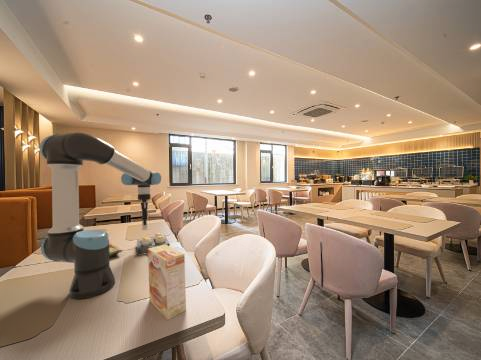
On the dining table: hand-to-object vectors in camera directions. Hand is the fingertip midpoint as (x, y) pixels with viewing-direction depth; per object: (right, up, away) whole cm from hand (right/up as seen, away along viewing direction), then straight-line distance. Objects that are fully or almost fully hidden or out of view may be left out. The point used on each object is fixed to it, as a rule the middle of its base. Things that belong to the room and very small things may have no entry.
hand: (144, 229), depth 132 cm
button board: (+6, -11, -1) cm, 13 cm away
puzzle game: (-18, -13, -12) cm, 25 cm away
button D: (0, -11, +1) cm, 11 cm away
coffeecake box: (+37, -12, -60) cm, 72 cm away
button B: (+4, -8, -6) cm, 11 cm away
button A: (+11, -8, -3) cm, 14 cm away
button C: (+7, -8, +4) cm, 12 cm away
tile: (+11, -11, -11) cm, 19 cm away
